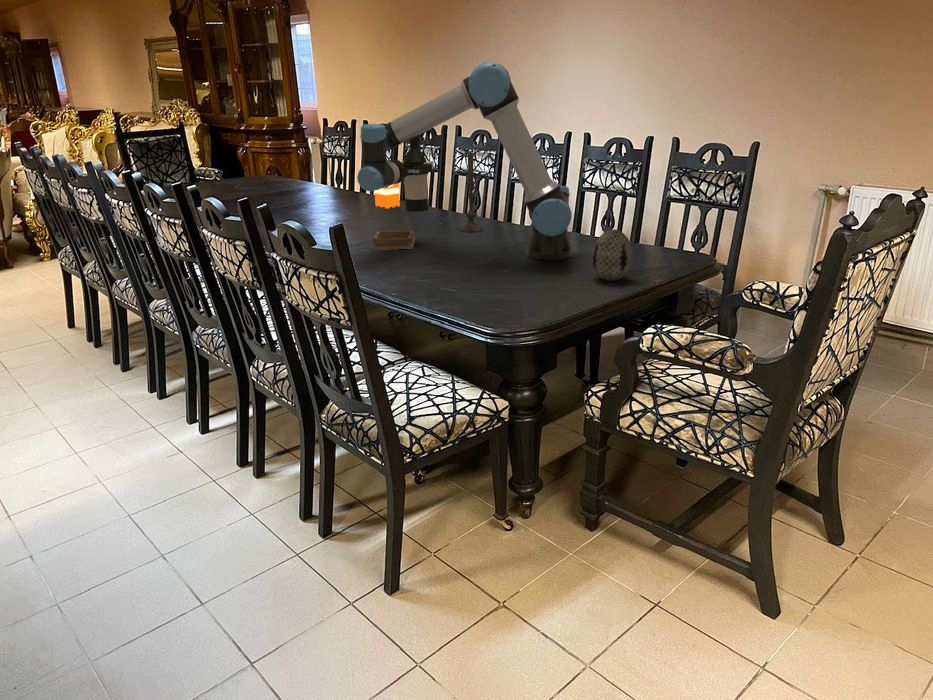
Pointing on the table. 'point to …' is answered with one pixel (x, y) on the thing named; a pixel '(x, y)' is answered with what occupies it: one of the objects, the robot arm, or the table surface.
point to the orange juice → (387, 196)
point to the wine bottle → (415, 180)
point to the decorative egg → (612, 255)
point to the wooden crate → (393, 240)
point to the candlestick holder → (471, 199)
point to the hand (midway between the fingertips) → (421, 164)
